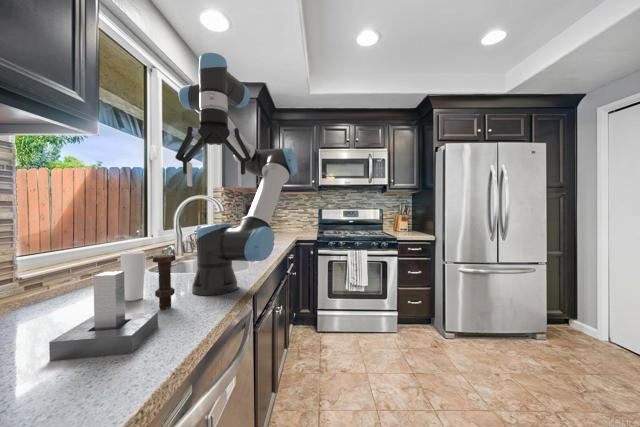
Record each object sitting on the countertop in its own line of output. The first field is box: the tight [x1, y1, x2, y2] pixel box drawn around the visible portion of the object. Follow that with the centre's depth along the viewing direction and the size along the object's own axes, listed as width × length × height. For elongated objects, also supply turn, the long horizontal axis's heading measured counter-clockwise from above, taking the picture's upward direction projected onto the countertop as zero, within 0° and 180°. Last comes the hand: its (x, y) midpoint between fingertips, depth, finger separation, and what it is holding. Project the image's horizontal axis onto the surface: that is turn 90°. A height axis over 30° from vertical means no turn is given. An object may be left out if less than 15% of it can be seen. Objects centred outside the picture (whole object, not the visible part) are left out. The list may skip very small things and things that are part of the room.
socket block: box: [48, 311, 159, 362], centre depth 63 cm, size 14×14×4 cm
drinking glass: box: [120, 250, 147, 302], centre depth 95 cm, size 7×7×15 cm
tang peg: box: [93, 270, 126, 331], centre depth 63 cm, size 4×4×14 cm
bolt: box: [152, 254, 177, 310], centre depth 86 cm, size 6×5×15 cm
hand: (215, 186), depth 84 cm, fingers open, 13 cm apart
